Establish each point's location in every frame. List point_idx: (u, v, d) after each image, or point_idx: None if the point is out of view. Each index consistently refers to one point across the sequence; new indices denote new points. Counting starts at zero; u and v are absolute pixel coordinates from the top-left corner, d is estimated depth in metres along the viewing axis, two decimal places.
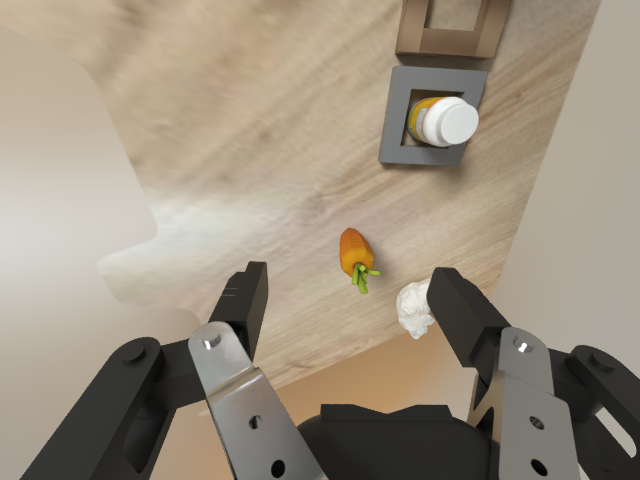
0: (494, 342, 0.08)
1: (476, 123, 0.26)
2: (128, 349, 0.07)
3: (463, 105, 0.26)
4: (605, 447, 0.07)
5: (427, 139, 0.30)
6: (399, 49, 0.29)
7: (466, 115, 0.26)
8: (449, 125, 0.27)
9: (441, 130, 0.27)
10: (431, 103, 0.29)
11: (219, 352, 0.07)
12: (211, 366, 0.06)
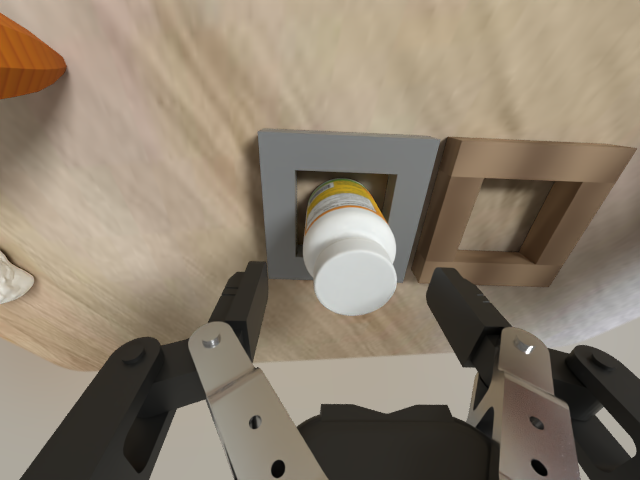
0: (494, 342, 0.08)
1: (356, 313, 0.12)
2: (128, 349, 0.07)
3: (394, 283, 0.12)
4: (605, 447, 0.07)
5: (316, 222, 0.13)
6: (463, 140, 0.16)
7: (373, 292, 0.12)
8: (355, 267, 0.11)
9: (344, 253, 0.11)
10: (382, 215, 0.14)
11: (219, 352, 0.07)
12: (211, 366, 0.06)
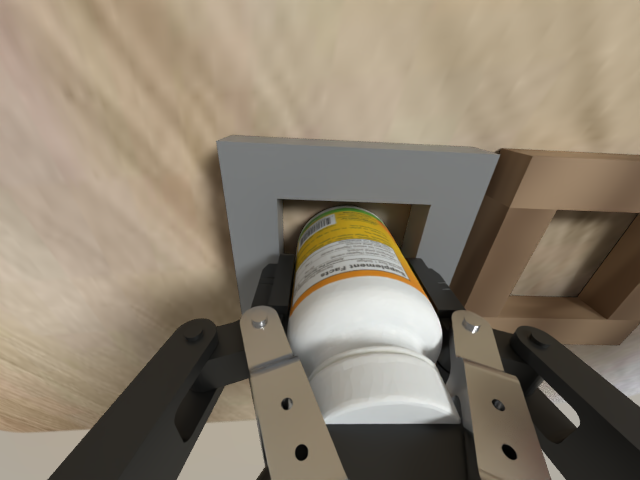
0: (446, 324, 0.09)
1: None
2: (190, 327, 0.07)
3: None
4: (550, 416, 0.08)
5: (309, 301, 0.08)
6: (535, 155, 0.10)
7: None
8: (385, 423, 0.06)
9: (365, 403, 0.05)
10: (415, 279, 0.09)
11: (264, 334, 0.07)
12: (265, 343, 0.07)
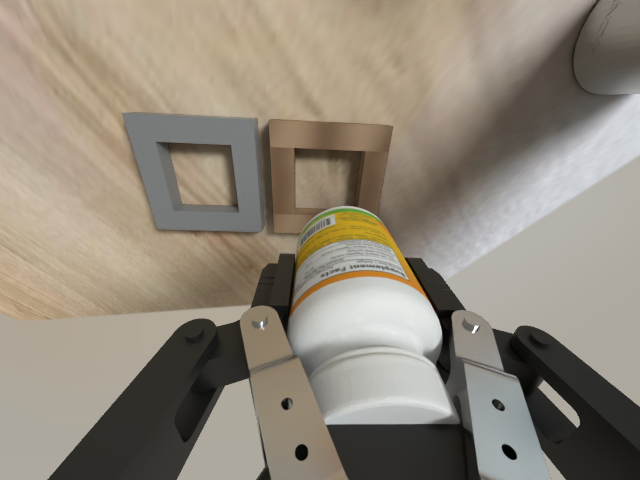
0: (446, 324, 0.09)
1: None
2: (191, 327, 0.07)
3: None
4: (550, 416, 0.08)
5: (309, 302, 0.08)
6: (270, 120, 0.23)
7: None
8: None
9: (365, 404, 0.05)
10: (415, 279, 0.09)
11: (264, 333, 0.07)
12: (265, 343, 0.07)
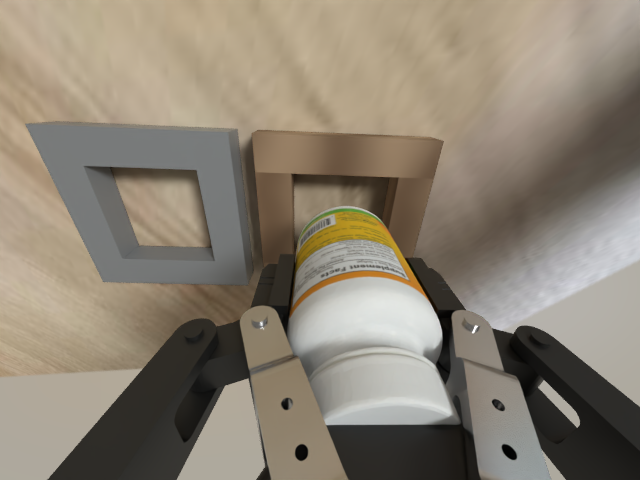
0: (446, 324, 0.09)
1: None
2: (191, 326, 0.07)
3: None
4: (550, 416, 0.08)
5: (309, 302, 0.08)
6: (254, 133, 0.15)
7: None
8: (385, 424, 0.06)
9: (365, 405, 0.05)
10: (415, 279, 0.09)
11: (264, 334, 0.07)
12: (265, 343, 0.07)
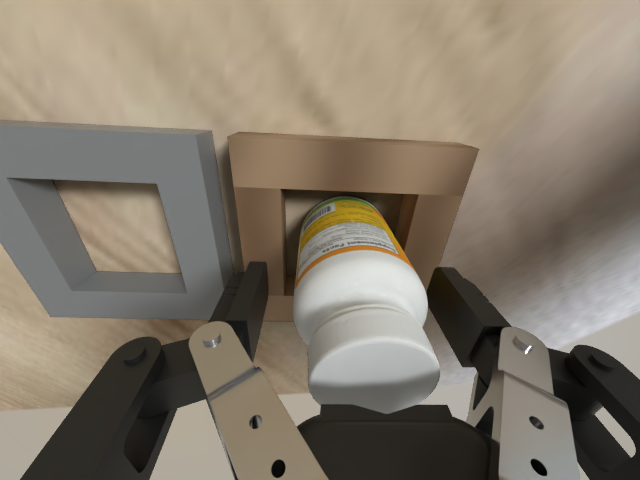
0: (493, 342, 0.08)
1: None
2: (129, 349, 0.07)
3: (436, 380, 0.07)
4: (604, 446, 0.07)
5: (312, 272, 0.09)
6: (230, 136, 0.11)
7: (401, 391, 0.08)
8: (375, 361, 0.07)
9: (358, 342, 0.06)
10: (405, 256, 0.10)
11: (219, 352, 0.07)
12: (211, 366, 0.06)
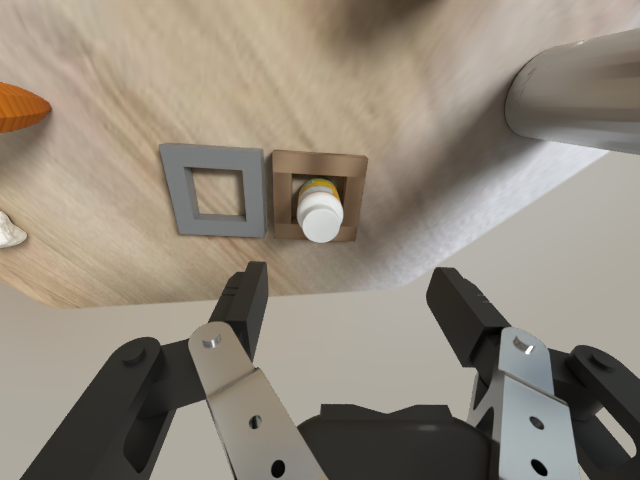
0: (494, 342, 0.08)
1: (322, 241, 0.27)
2: (128, 348, 0.07)
3: (338, 225, 0.26)
4: (605, 447, 0.07)
5: (303, 199, 0.27)
6: (273, 152, 0.29)
7: (329, 230, 0.26)
8: (320, 217, 0.25)
9: (315, 210, 0.25)
10: (337, 197, 0.29)
11: (219, 352, 0.07)
12: (211, 366, 0.06)
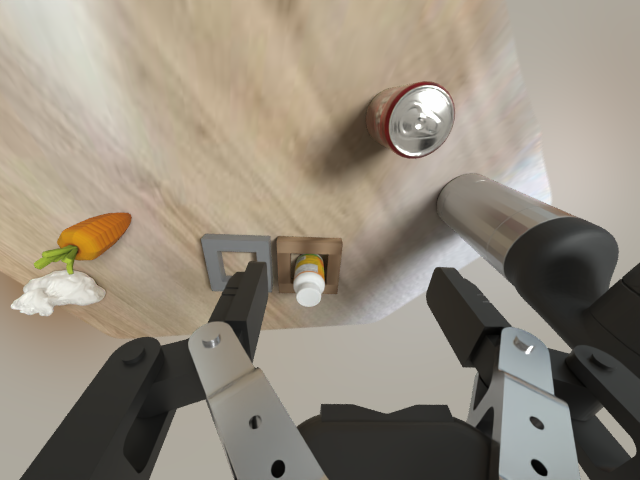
0: (494, 342, 0.08)
1: (309, 306, 0.40)
2: (128, 349, 0.07)
3: (320, 297, 0.39)
4: (605, 447, 0.07)
5: (297, 276, 0.41)
6: (277, 241, 0.43)
7: (314, 299, 0.39)
8: (308, 292, 0.39)
9: (304, 288, 0.38)
10: (320, 272, 0.42)
11: (219, 352, 0.07)
12: (211, 366, 0.06)
